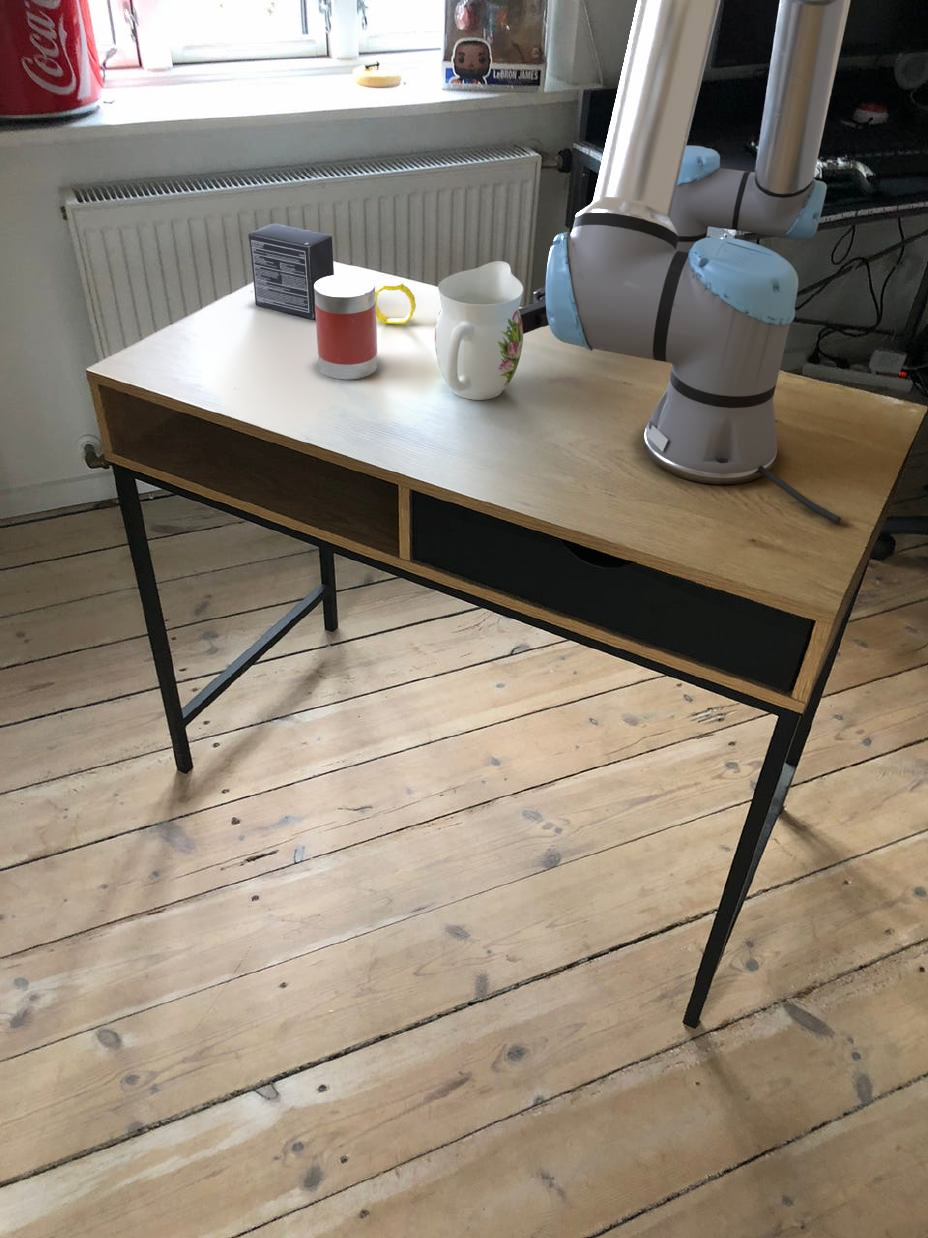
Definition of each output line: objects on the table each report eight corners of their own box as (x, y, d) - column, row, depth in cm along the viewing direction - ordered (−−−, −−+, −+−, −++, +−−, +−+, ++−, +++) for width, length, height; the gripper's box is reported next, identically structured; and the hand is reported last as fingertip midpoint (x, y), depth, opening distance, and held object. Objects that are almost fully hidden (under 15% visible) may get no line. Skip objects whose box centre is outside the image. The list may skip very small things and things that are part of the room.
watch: (416, 320, 148) (416, 280, 144) (413, 328, 146) (412, 287, 142) (376, 317, 148) (375, 276, 145) (371, 324, 146) (370, 283, 142)
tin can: (389, 368, 135) (387, 286, 128) (343, 385, 131) (339, 302, 124) (352, 349, 140) (349, 269, 133) (307, 365, 135) (301, 283, 129)
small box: (338, 305, 151) (335, 233, 145) (313, 320, 147) (308, 247, 140) (279, 291, 155) (273, 220, 148) (253, 305, 150) (246, 233, 144)
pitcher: (407, 414, 126) (406, 305, 117) (458, 355, 139) (461, 254, 130) (491, 431, 123) (497, 321, 114) (536, 370, 136) (543, 267, 127)
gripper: (664, 321, 142) (548, 369, 129) (593, 293, 149) (476, 335, 136) (673, 267, 137) (553, 311, 124) (599, 241, 144) (478, 280, 131)
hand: (513, 324), depth 130 cm, fingers closed
